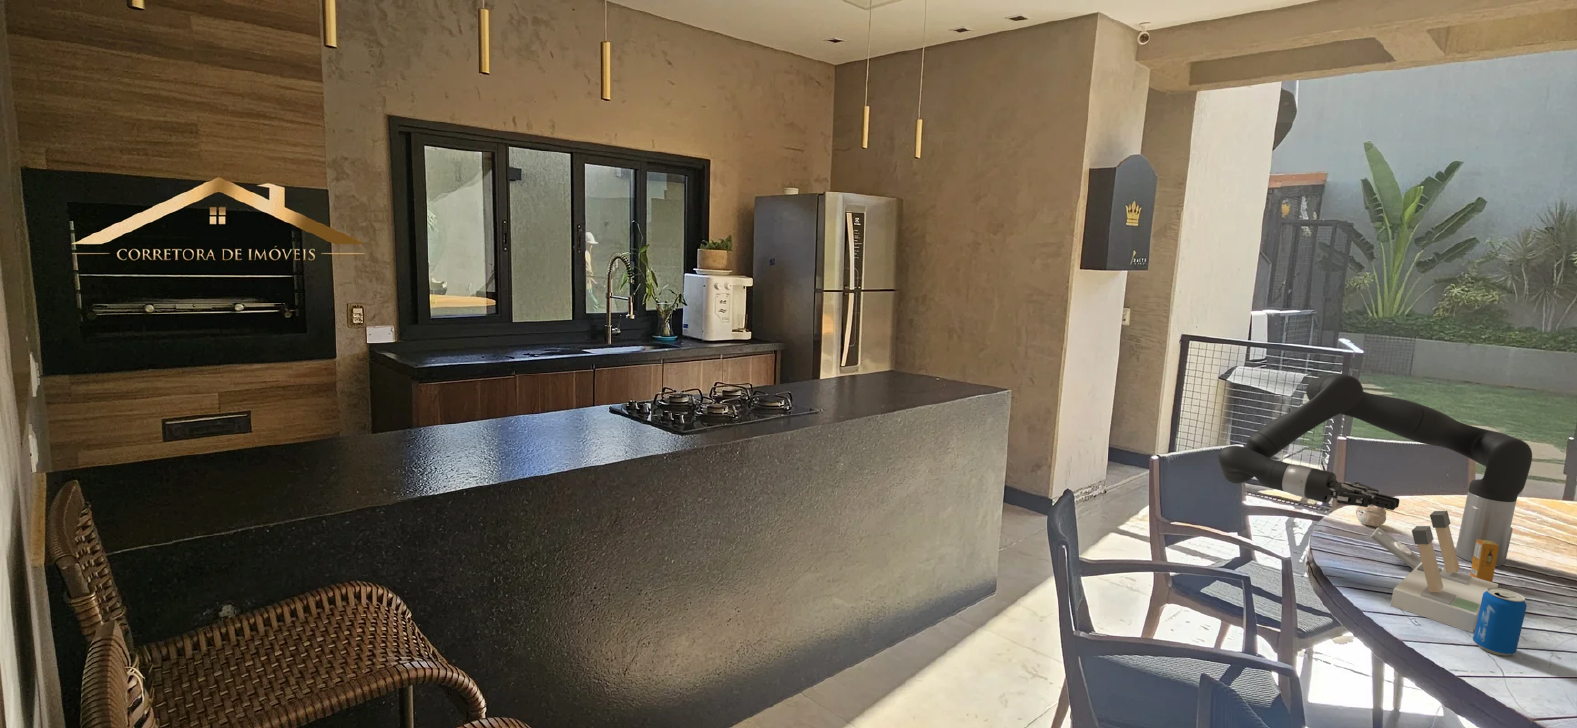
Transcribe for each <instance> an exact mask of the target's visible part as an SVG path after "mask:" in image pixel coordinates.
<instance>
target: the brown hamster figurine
mask: <svg viewBox="0 0 1577 728" xmlns="http://www.w3.org/2000/svg"><path fill="white" fill-rule="evenodd" d="M1355 515H1356V517H1357V520H1358V522H1360V523H1361V524H1363V525H1364V526H1368V527H1373V528H1374V527H1375V528H1376V527H1377V528H1378V527H1380V526H1382V525H1384V524H1385V523H1386V521H1387V511H1386V509H1385V508H1381V507H1377V506H1368V507H1362V506H1357V508H1356V510H1355Z"/></svg>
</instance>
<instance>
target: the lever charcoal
mask: <svg viewBox="0 0 1577 728" xmlns="http://www.w3.org/2000/svg"><path fill="white" fill-rule="evenodd" d="M1448 511H1449V510H1434V511H1433V512H1431V513H1430V514H1429V517H1430V520H1431V521H1430V522H1431V525H1432V528H1433V529H1435V533H1436V536H1437V540H1438V546H1439V548H1440V553H1441V556H1442V560H1443V565H1444V568H1445V569H1446V573H1457V572H1459V570H1460V569H1461V567H1460V563H1459V560H1458V556H1457V555H1456V548H1455V544H1454V540H1453V537H1452V533H1451V528H1450V525H1451V520H1450V516H1449V512H1448Z"/></svg>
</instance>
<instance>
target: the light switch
mask: <svg viewBox="0 0 1577 728" xmlns="http://www.w3.org/2000/svg"><path fill="white" fill-rule="evenodd" d="M1369 537H1370V538H1371V539H1372V540H1373V541H1374V542H1376V543H1377V544H1379V545H1380V546H1381V547H1383V548H1384V549H1386V550H1387V551H1388V552H1390V553H1391V554H1392V555H1394V556H1395V557H1397V558H1398V559H1399V560H1400V561H1402V562H1403V563H1405V564H1406V565H1407V566H1409V567H1411V569H1412V570H1414V569H1415V568H1416V567H1417V566H1418V565H1419V564H1420V563H1421V562H1422V561H1421V557H1420V555H1418V554H1416V553H1415V552H1414V551H1413V550H1411V549H1409V548H1408V547H1407V546H1406V545H1405V544H1403V543H1402V542H1400V541H1399V540H1397V539H1396V538H1394V537H1393V536H1392V535H1390V534H1389V533H1387V532H1386V531H1385V530H1383V529H1382V528H1380V526H1377V528H1376V529H1374V531H1373V532H1372V533H1371V535H1370V536H1369Z"/></svg>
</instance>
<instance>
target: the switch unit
mask: <svg viewBox="0 0 1577 728" xmlns="http://www.w3.org/2000/svg"><path fill="white" fill-rule="evenodd" d="M1438 568H1439V572H1440V576H1441V580H1442V584H1443V589H1442V590H1441V591H1440V592H1429V589H1428V585H1427V581H1426V577H1425V573H1424V569H1423V565H1422V562H1421V563H1420V564H1419V565H1418V566H1417V567H1416V568H1415V569H1412V570H1411V572H1409V573H1408V574H1407V575H1406V576H1405V577H1404V578H1403V579H1402V580H1401V581H1400V582H1399V583H1398V584H1397V585H1396V586H1395V587H1394V588H1393V590H1392V596H1391V600H1390V601H1391V602H1390V607H1394V608H1397V609H1399V610H1403V611H1405V612H1408V611H1409V612H1408V613H1411V612H1413V613H1412V614H1414V613H1415V615H1417V614H1418V615H1417V616H1420V617H1424V618H1427V619H1430V620H1432V621H1436V622H1439V623H1441V624H1445V625H1448V626H1451V627H1454V628H1457V629H1460V630H1463V631H1465V632H1469V633H1473V632H1475V628H1476V623H1477V619H1478V614H1479V610H1480V605H1481V601H1482V596H1483V593H1484V592H1486V591H1487V588H1490V587H1495V588H1499V583H1496V582H1493V581H1492V582H1489V581H1486V580H1482V579H1479V578H1476V577H1472V576H1471V575H1470V574H1467V573H1464V572H1461V571H1458V572H1457V573H1446V569H1445V567H1444V568H1443V567H1440V566H1438Z"/></svg>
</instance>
